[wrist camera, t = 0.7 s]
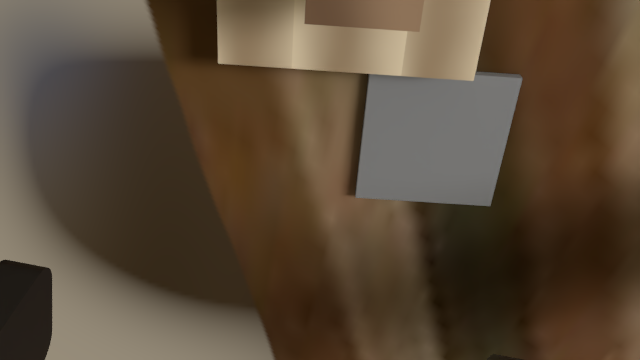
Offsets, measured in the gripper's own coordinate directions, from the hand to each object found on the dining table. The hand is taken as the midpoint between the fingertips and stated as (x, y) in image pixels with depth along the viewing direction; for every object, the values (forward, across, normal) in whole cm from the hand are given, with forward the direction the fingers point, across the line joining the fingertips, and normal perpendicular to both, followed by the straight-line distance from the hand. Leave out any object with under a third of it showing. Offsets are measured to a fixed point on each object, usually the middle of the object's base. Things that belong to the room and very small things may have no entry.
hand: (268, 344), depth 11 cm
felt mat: (+26, -9, +7) cm, 29 cm away
